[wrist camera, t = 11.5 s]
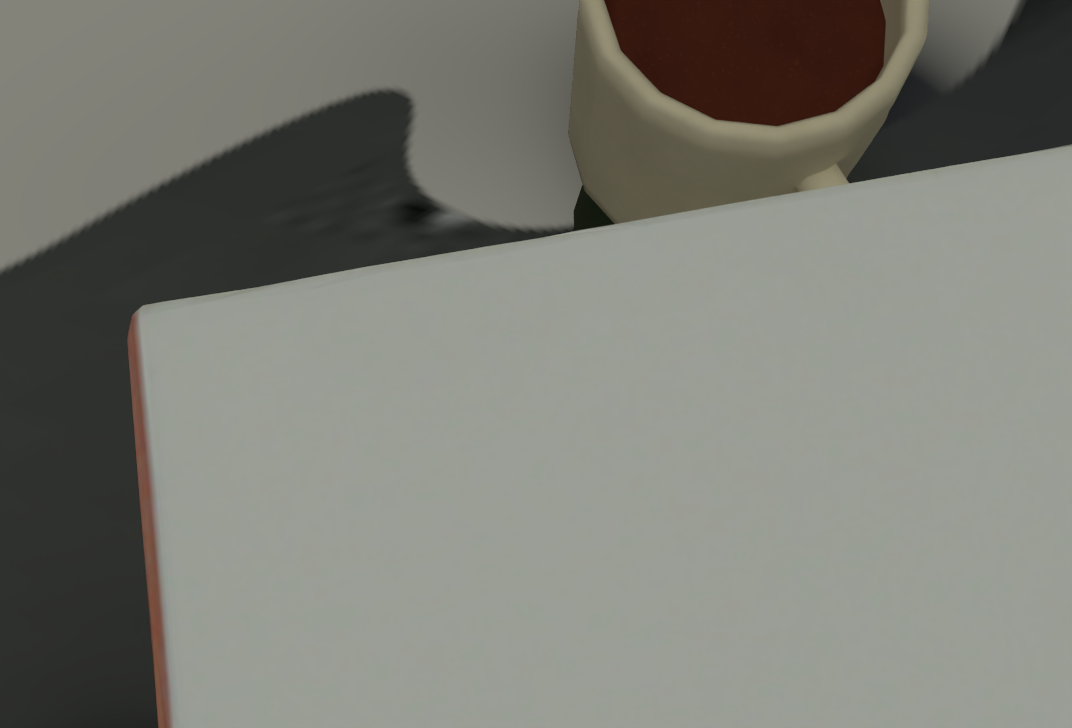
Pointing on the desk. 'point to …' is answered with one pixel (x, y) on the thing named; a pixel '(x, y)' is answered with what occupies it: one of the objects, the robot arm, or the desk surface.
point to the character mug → (729, 98)
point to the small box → (631, 473)
